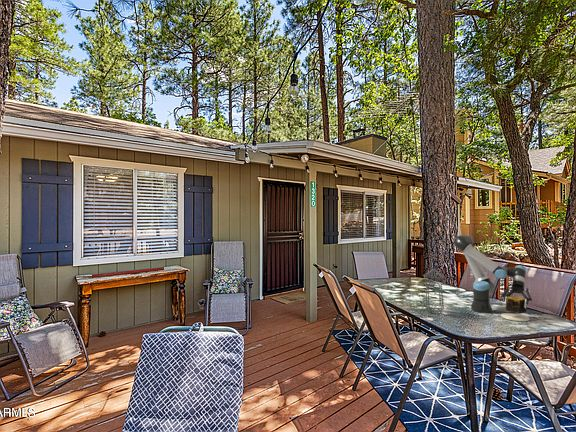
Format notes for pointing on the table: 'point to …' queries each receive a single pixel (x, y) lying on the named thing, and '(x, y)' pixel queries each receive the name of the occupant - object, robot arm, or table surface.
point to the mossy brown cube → (515, 304)
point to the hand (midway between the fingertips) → (515, 306)
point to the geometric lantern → (434, 286)
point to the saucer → (515, 317)
